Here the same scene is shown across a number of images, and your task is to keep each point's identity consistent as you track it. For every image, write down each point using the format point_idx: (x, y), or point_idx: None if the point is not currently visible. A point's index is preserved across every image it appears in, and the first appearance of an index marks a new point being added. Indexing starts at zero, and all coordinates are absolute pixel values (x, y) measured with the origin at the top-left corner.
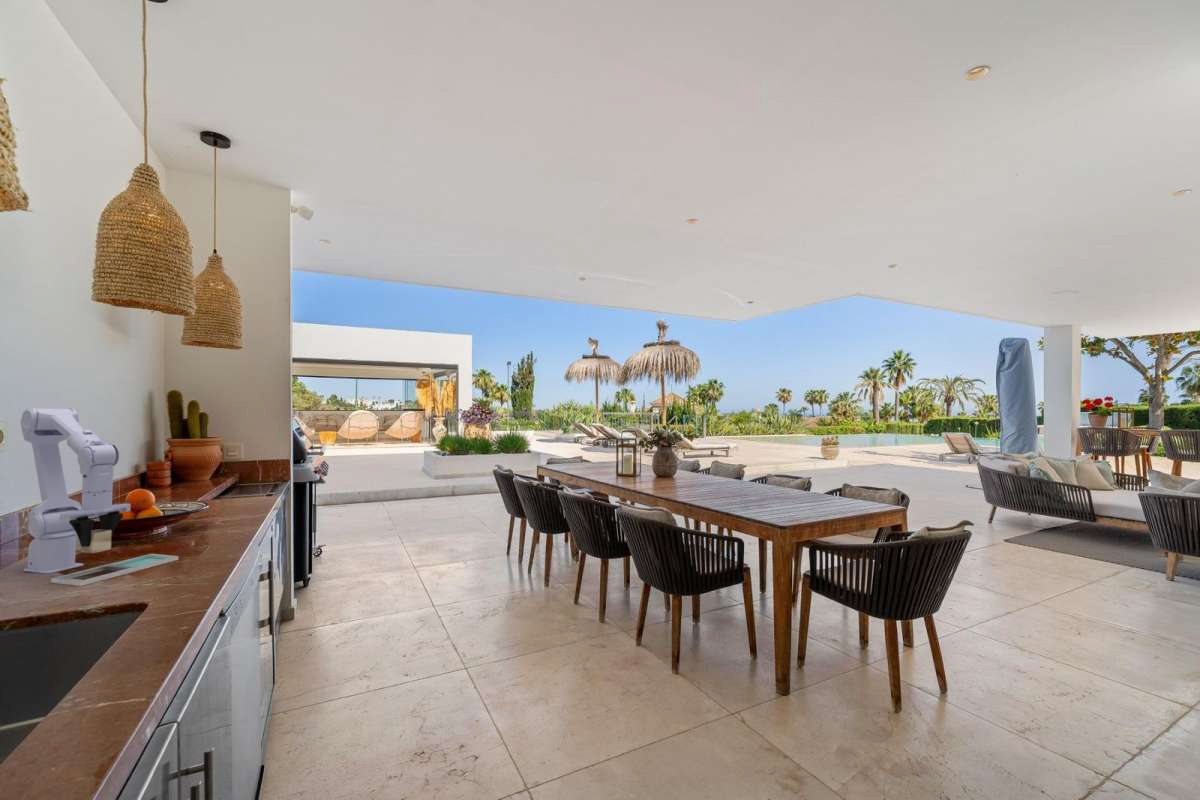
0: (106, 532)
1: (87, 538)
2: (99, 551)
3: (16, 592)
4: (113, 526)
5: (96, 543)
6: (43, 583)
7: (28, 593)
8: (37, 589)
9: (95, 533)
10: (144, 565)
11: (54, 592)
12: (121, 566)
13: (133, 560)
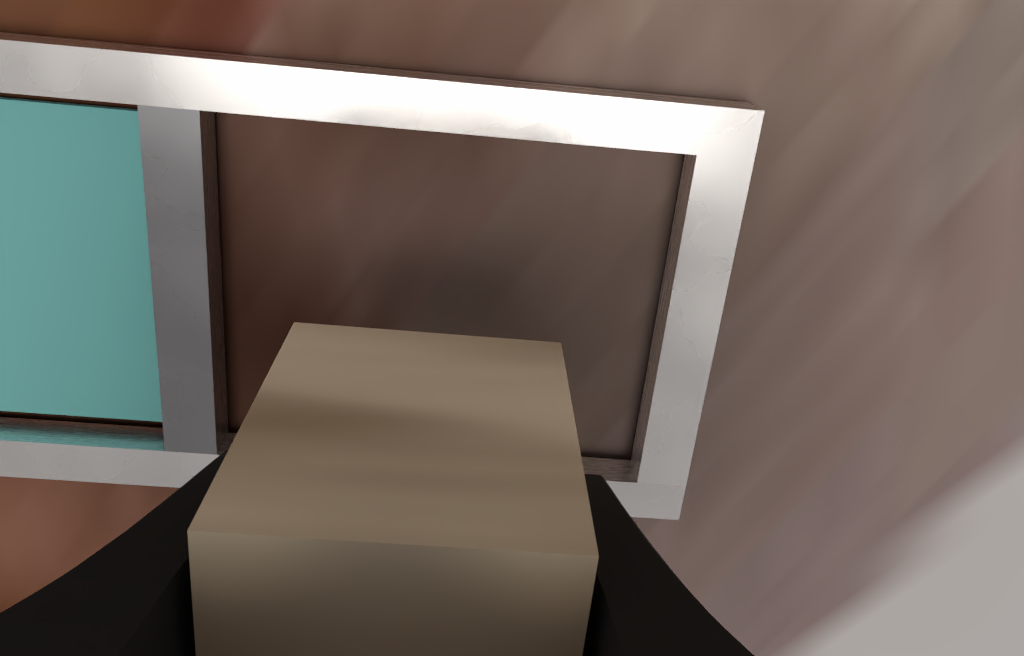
0: (312, 515)
1: (646, 551)
2: (466, 337)
3: (917, 499)
4: (82, 615)
5: (522, 412)
6: (673, 544)
7: (948, 380)
8: (836, 424)
9: (557, 547)
10: (21, 43)
11: (926, 178)
12: (170, 271)
13: None
